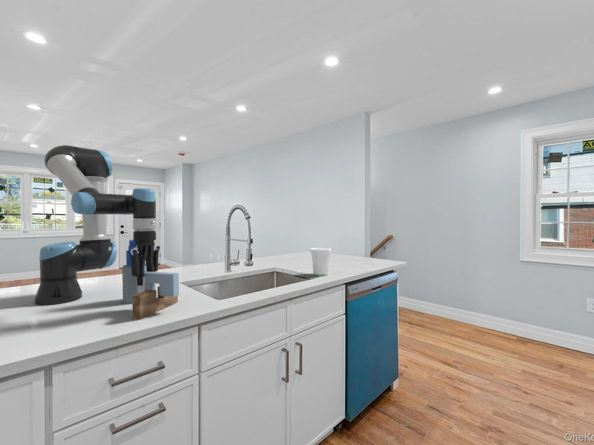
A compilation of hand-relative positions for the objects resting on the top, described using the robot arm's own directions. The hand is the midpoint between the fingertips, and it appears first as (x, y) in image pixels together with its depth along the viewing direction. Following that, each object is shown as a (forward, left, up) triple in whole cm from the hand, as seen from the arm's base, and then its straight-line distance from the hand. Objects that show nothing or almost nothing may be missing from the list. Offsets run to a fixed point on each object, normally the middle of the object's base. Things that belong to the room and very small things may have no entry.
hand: (145, 292), depth 109 cm
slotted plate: (+5, 0, 0) cm, 5 cm away
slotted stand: (+5, 0, -6) cm, 8 cm away
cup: (+54, +78, -6) cm, 95 cm away
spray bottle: (-12, +8, -6) cm, 16 cm away
